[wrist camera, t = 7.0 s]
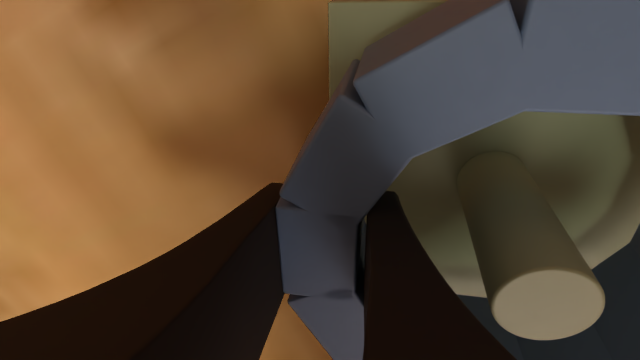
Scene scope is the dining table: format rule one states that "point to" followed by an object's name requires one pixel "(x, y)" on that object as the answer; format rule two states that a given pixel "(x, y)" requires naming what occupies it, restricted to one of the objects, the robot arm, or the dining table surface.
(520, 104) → the ring
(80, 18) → the dining table surface
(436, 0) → the post
